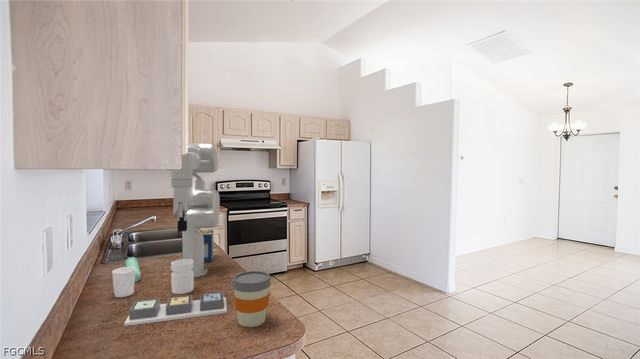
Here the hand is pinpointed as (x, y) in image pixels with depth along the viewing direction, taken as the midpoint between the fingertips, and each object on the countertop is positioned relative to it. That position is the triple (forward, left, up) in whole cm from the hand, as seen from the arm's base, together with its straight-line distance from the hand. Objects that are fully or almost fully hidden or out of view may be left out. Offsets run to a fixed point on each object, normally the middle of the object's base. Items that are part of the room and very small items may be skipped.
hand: (182, 230), depth 123 cm
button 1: (+11, -11, -26) cm, 30 cm away
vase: (-10, -1, -27) cm, 29 cm away
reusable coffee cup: (+25, +24, -27) cm, 44 cm away
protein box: (-53, +3, -27) cm, 60 cm away
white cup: (-12, -23, -27) cm, 38 cm away
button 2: (+11, 0, -26) cm, 28 cm away
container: (-37, -25, -28) cm, 53 cm away
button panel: (+11, 0, -27) cm, 29 cm away
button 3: (+11, +11, -26) cm, 30 cm away
